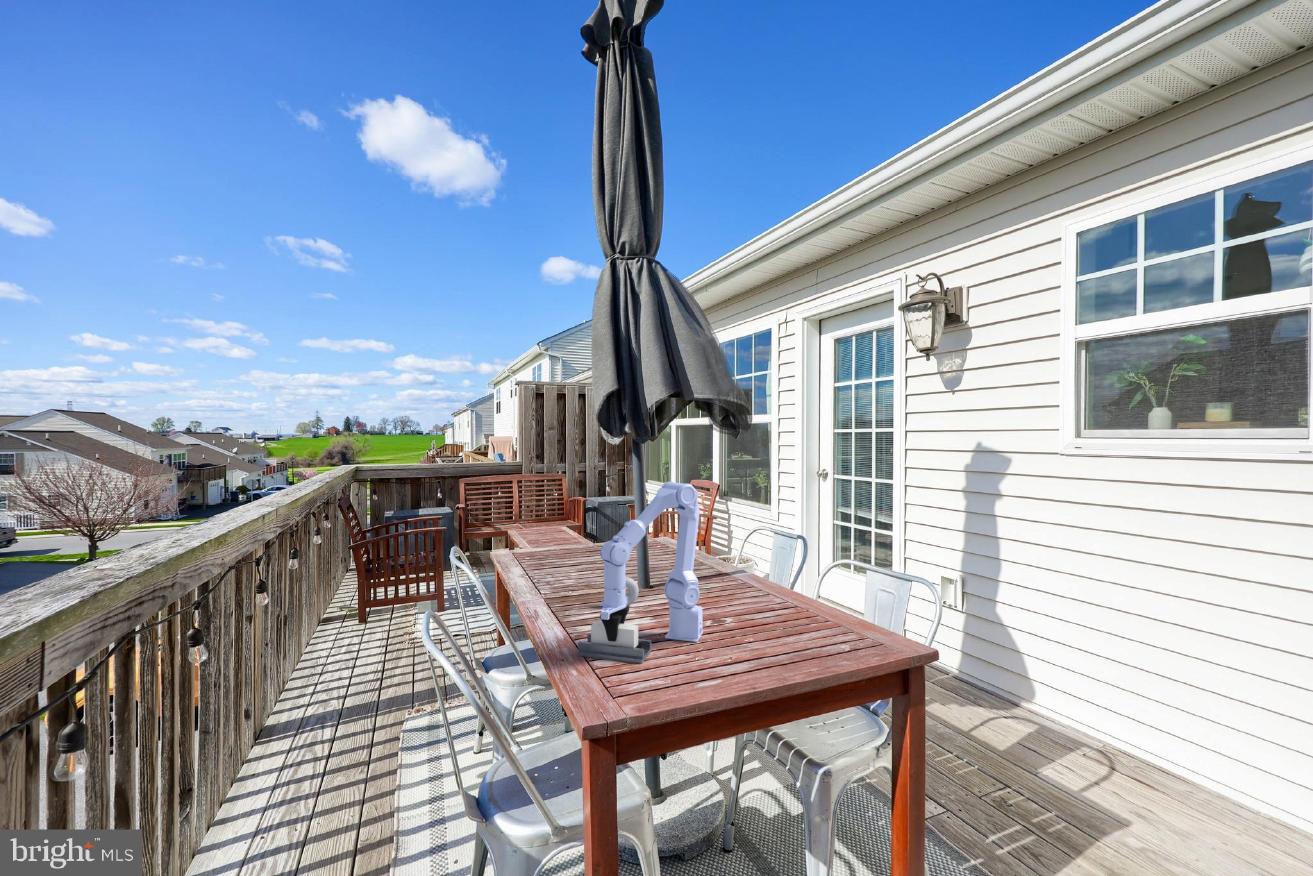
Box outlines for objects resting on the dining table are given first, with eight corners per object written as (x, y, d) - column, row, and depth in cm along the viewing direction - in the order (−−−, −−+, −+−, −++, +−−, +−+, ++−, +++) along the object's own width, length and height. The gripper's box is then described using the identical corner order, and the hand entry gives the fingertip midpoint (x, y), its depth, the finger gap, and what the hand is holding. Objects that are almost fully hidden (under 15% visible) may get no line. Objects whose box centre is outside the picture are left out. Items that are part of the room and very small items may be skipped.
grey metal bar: (638, 644, 143) (638, 625, 143) (633, 649, 140) (633, 630, 140) (596, 639, 146) (596, 620, 146) (591, 644, 143) (591, 625, 143)
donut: (609, 608, 179) (609, 578, 179) (608, 605, 183) (608, 575, 183) (639, 607, 181) (639, 577, 181) (638, 604, 184) (638, 574, 184)
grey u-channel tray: (652, 650, 145) (652, 638, 145) (641, 663, 136) (641, 651, 136) (590, 642, 150) (590, 631, 150) (576, 655, 141) (576, 643, 141)
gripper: (610, 578, 151) (610, 627, 151) (589, 593, 137) (589, 646, 137) (634, 580, 149) (634, 629, 149) (615, 595, 135) (615, 649, 135)
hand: (614, 638), depth 143 cm, fingers closed on grey metal bar, 3 cm apart
